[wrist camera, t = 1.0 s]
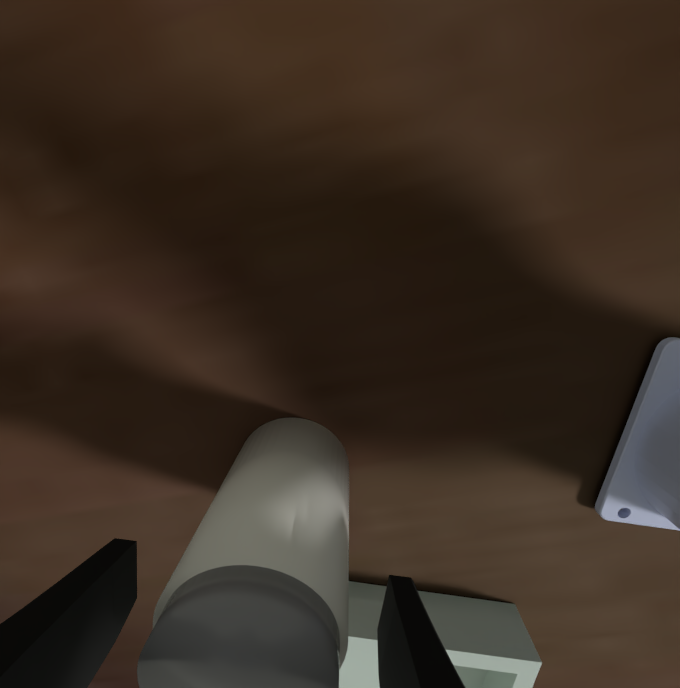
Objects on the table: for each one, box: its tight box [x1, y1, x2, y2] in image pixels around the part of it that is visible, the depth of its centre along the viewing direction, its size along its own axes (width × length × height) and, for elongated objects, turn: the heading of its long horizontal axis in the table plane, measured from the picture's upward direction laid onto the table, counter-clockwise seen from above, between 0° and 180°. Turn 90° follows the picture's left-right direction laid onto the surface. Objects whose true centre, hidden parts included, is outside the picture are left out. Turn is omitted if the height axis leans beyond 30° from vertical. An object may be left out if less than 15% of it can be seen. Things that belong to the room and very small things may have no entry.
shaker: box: [137, 417, 349, 688], centre depth 12 cm, size 5×5×8 cm
